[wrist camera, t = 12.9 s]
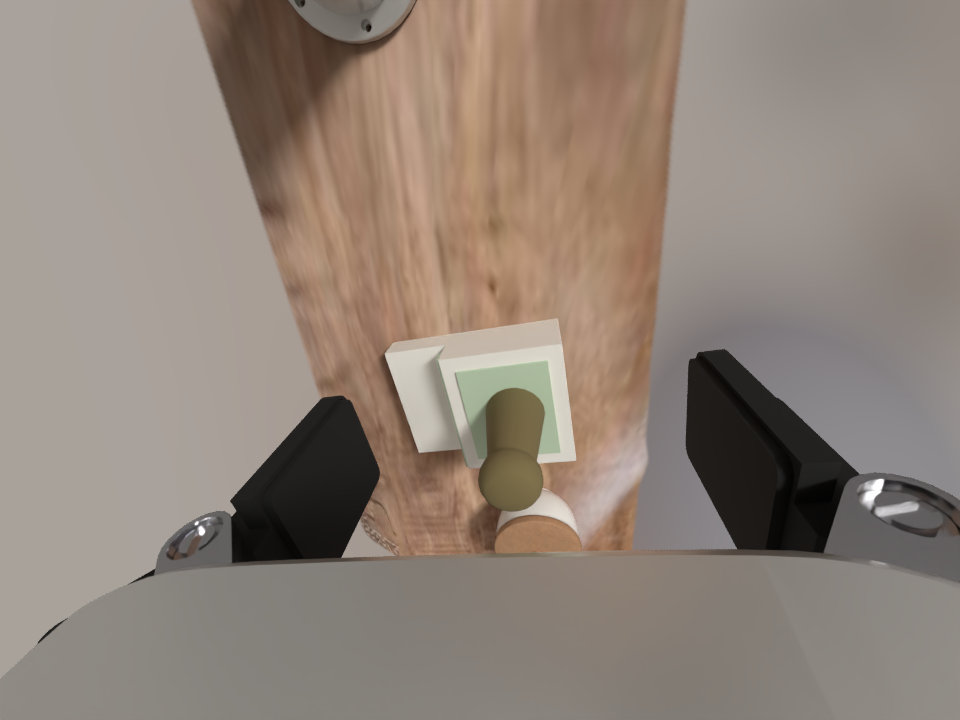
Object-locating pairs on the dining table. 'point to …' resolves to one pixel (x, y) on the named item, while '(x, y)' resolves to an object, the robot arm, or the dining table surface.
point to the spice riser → (482, 386)
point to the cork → (512, 450)
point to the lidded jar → (538, 528)
